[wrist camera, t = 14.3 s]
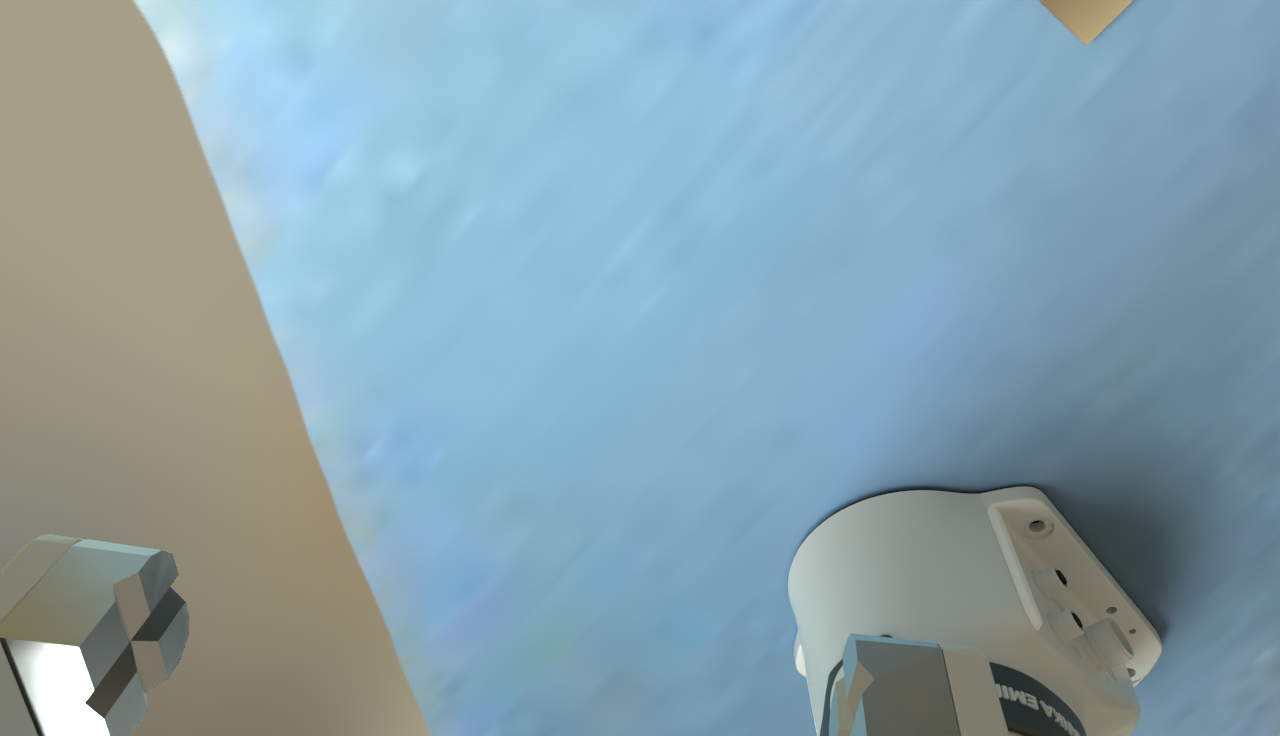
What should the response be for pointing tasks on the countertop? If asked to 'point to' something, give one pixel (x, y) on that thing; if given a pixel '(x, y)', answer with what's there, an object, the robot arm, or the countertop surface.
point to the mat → (1086, 15)
